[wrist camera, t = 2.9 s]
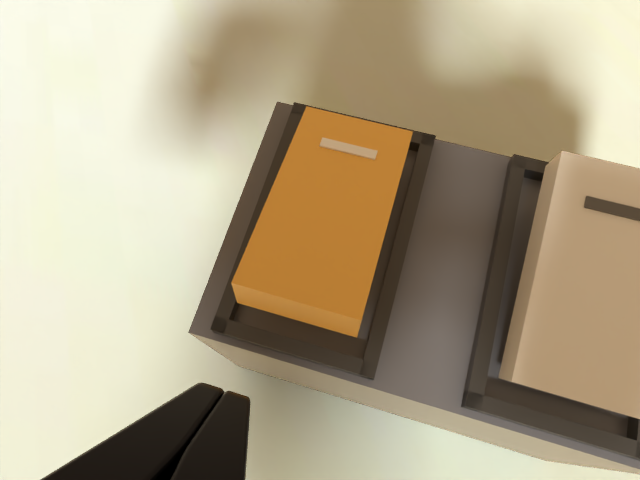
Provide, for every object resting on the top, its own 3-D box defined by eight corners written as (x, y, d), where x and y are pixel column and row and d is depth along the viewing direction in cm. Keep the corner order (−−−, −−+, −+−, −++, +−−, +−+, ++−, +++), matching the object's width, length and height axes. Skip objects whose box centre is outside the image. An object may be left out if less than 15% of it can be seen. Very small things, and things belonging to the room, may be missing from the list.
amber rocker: (357, 337, 13) (361, 319, 12) (237, 303, 13) (230, 281, 12) (405, 158, 16) (413, 130, 15) (306, 133, 16) (306, 104, 15)
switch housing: (546, 460, 20) (682, 480, 12) (238, 366, 22) (183, 329, 14) (572, 268, 23) (697, 182, 15) (296, 196, 25) (278, 84, 17)
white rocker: (624, 414, 13) (652, 422, 12) (498, 377, 13) (512, 382, 12) (664, 194, 14) (693, 180, 13) (545, 165, 14) (562, 149, 13)
